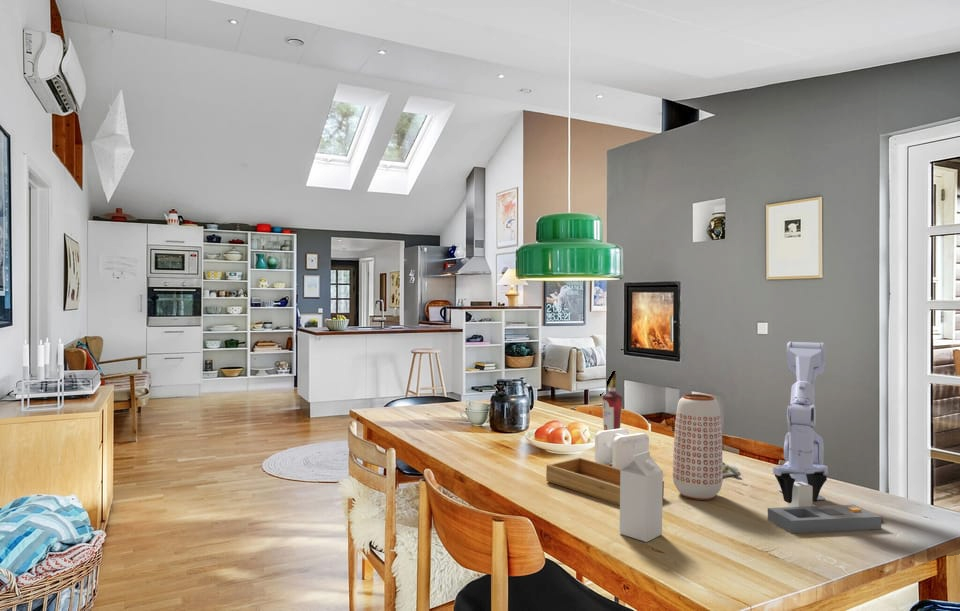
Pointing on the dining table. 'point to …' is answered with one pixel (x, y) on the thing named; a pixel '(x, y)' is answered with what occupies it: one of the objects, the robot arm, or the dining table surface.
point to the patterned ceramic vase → (698, 447)
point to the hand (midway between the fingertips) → (800, 501)
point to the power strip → (824, 518)
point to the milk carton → (641, 498)
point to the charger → (801, 495)
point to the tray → (587, 478)
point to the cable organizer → (619, 447)
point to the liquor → (612, 407)
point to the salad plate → (729, 470)
